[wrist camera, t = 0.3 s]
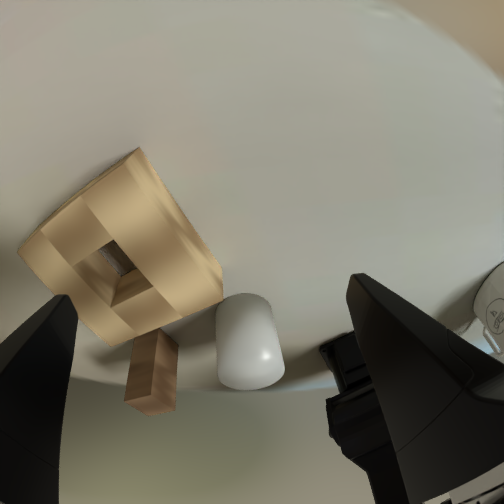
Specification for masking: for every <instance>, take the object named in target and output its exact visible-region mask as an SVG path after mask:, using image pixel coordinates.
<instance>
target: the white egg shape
mask: <svg viewBox="0 0 504 504" xmlns="http://www.w3.org/2000/svg"><path fill="white" fill-rule="evenodd" d="M215 323H216V350H217V372H218V379H219V380H220V382H221V383H222V384H224V385H225V386H227V387H230V388H233V389H237V390H255V389H260V388H264V387H267V386H269V385H271V384H273V383H275V382H276V381H278V380H279V379H280V378H281V377H282V376H283V374H284V371H285V367H284V362H283V358H282V353H281V349H280V344H279V340H278V336H277V331H276V327H275V322H274V318H273V314H272V309H271V306H270V304H269V302H268V301H267V300H266V299H264V298H263V297H261V296H259V295H256V294H250V293H241V294H236V295H233V296H230V297H228V298H226V299H225V300H223V301H222V302H221V303H220V304H219V305H218V307H217V309H216V312H215Z"/></svg>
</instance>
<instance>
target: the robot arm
mask: <svg viewBox="0 0 504 504" xmlns="http://www.w3.org/2000/svg"><path fill="white" fill-rule="evenodd" d="M346 301H347V305H348V308H349V312H350V315H351V319H352V323H353V327H354V331H355V332H353V333H351V334H349V335H346V336H344V337H342V338H340V339H337V340H335V341H333V342H331V343H328V344H326V345H324V346H322V347H320V348H319V350H320V353H321V355H322V357H323V358H324V360H325V362H326V364H327V365H328V367H329V369H330V371H331V372H333V375H334V378H335V381H336V384H337V387H338V390H339V392H340V394H338V395H336V396H334V397H332V398H328V399H326V411H327V418H328V424H329V436H330V437H331V438H333V439H334V440H335V442H336V443H337V445H338V446H340V447H341V450H342V453H343V454H344V455H345V456H346V457H347V458H348V459H350V460H351V461H352V462H354V463H355V464H356V465H358V466H359V467H360V468H362V469H363V470H364V471H366V473H367V475H368V479H369V482H370V485H371V489H372V493H373V496H374V500H375V504H425V503H424V502H425V501H428V500H430V499H432V498H435V497H437V496H440V495H442V494H444V493H447V492H449V495H450V498H449V499H447V500H445V501H444V502H442V503H441V504H504V364H503V363H502V362H500V361H498V360H497V359H495V358H493V357H491V356H490V355H488V354H487V353H485V352H483V351H482V350H480V349H478V348H477V347H475V346H473V345H472V344H470V343H469V342H467V341H466V340H464V339H463V338H461V337H460V336H458V335H457V334H455V333H454V332H452V331H451V330H449V329H446V327H445V326H444V325H442V324H441V323H439V322H438V321H436V320H435V319H433V318H432V317H430V316H429V315H427V314H426V313H425V312H423V311H422V310H420V309H419V308H417V307H416V306H414V305H413V304H411V303H410V302H408V301H407V300H405V299H403V298H402V297H400V296H399V295H397V294H396V293H394V292H393V291H391V290H390V289H388V288H387V287H385V286H384V285H382V284H380V283H379V282H377V281H376V280H374V279H373V278H371V277H370V276H368V275H366V274H365V273H357V274H352V275H351V277H350V280H349V285H348V289H347V293H346ZM77 324H78V313H77V311H76V309H75V307H74V305H73V302H72V300H71V298H70V297H69V295H67V294H58V295H56V296H54V297H53V298H52V299H51V300H50V301H48V302H47V303H46V304H45V305H44V306H42V307H41V308H40V309H39V310H38V311H37V312H35V313H34V314H33V315H32V316H31V317H30V318H28V319H27V320H26V321H25V322H24V323H23V324H22V325H21V326H19V327H18V328H17V329H16V330H15V331H14V332H13V333H12V334H11V335H9V336H8V337H7V338H6V339H5V340H4V341H3V342H2V343H1V344H0V504H59V459H60V444H61V434H62V424H63V416H64V408H65V402H66V395H67V389H68V383H69V377H70V372H71V367H72V362H73V355H74V347H75V339H76V331H77Z"/></svg>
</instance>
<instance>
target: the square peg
mask: <svg viewBox="0 0 504 504" xmlns="http://www.w3.org/2000/svg"><path fill="white" fill-rule="evenodd" d="M177 361H178V344H176V343H175V342H174V341H173V340H172V339H171V338H170V337H169V336H168V335H167V334H166V333H165V332H164V331H163V330H162V329H160V328H157V329H154V330H152V331H149V332H147V333H145V334H142V335H140V336H137V337H135V340H134V345H133V351H132V356H131V361H130V367H129V373H128V379H127V385H126V392H125V398H124V402H126V403H127V404H129V405H131V406H132V407H134V408H136V409H137V410H139V411H141V412H142V413H144V414H146V415H147V416H151V415H156V414H161V413H166V412H170V411H175V402H176V400H175V399H176V379H177Z"/></svg>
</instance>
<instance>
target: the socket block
mask: <svg viewBox="0 0 504 504" xmlns="http://www.w3.org/2000/svg"><path fill="white" fill-rule="evenodd" d="M113 239H114V240H115V242H116V243H117V244H118V245H119V246H120V248H121V249H122V250H123V251H124V253H125V254H126V255H127V256H128V257H129V258H130V260H131V261H132V262H133V263H134V264H135V266H136V267H137V268H136V269H134V270H132V271H131V272H129V273H127V274H125V275H123V276H122V277H121V276H120V275H119V274H118V273H117V271H116V270H115V269H114V268H113V267H112V266H111V265H110V264H109V262H108V261H107V260H106V259H105V258H104V257H103V255H102V254H101V253H100V252H99V251H98V249H99V248H101V247H102V246H104V245H105V244H107V243H108V242H110V241H112V240H113ZM17 253H18V254H19V255H20V257H21V258H22V259H23V260H24V261H25V263H26V264H27V265H28V266H29V267H30V268H31V269H32V271H33V272H34V273H35V274H36V275H37V276H38V277H39V278H40V280H41V281H42V282H43V283H44V284H45V285H46V286H47V287H48V288H49V289H50V290H51V291H52V292H53V293H54V294H55V295H58V294H67V295H69V297H70V298H71V300H72V302H73V305H74V307H75V309H76V311H77V313H78V318H79V319H80V320H81V321H82V322H83V323H84V324H85V325H87V326H88V327H89V328H90V329H91V330H92V331H93V332H94V333H95V334H97V335H98V336H99V337H100V338H101V339H102V340H103V341H105V342H106V343H107V344H108V345H109V346H110V347H112V346H115V345H117V344H120V343H122V342H125V341H127V340H130V339H132V338H135V337H137V336H140V335H142V334H145V333H147V332H149V331H152V330H154V329H157V328H159V327H162V326H164V325H166V324H169V323H171V322H174V321H176V320H178V319H181V318H183V317H186V316H188V315H190V314H193V313H195V312H197V311H200V310H202V309H204V308H207V307H209V306H211V305H214V304H216V303H218V302H221V301H223V300H224V299H223V281H222V268H221V266H220V265H219V263H218V262H217V260H216V259H215V258H214V256H213V255H212V253H211V252H210V251H209V249H208V248H207V246H206V245H205V243H204V242H203V241H202V239H201V238H200V236H199V235H198V233H197V232H196V231H195V229H194V228H193V226H192V225H191V223H190V222H189V220H188V219H187V218H186V216H185V215H184V213H183V212H182V210H181V209H180V207H179V206H178V204H177V203H176V201H175V200H174V198H173V197H172V196H171V194H170V193H169V191H168V190H167V188H166V187H165V185H164V184H163V182H162V181H161V179H160V178H159V176H158V175H157V173H156V172H155V170H154V169H153V167H152V166H151V164H150V163H149V161H148V159H147V158H146V156H145V155H144V153H143V152H142V150H141V149H140V147H139V148H137V149H136V150H134V151H133V152H131V153H130V154H128V155H127V156H125V157H124V158H123V159H121V160H120V161H118V162H117V163H116V164H114V165H113V166H111V167H110V168H109V169H107V170H106V171H105V172H103V173H102V174H100V175H99V176H98V177H96V178H95V179H94V180H93V181H91V182H90V183H89V184H87V185H86V186H85V187H84V188H82V189H81V190H80V191H79V192H77V193H76V194H75V195H74V196H72V197H71V198H70V199H69V200H68V201H66V202H65V203H64V204H63V205H62V206H61V207H59V208H58V209H57V210H56V211H55V212H54V213H52V214H51V215H50V216H49V217H48V218H47V219H46V220H45V221H44V222H42V223H41V224H40V225H39V226H38V227H37V228H36V230H35V231H34V232H33V233H32V234H31V235H30V237H29V238H28V239H27V240H26V241H25V243H24V244H23V245H22V246H21V247H20V249H19V250H18V251H17Z"/></svg>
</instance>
